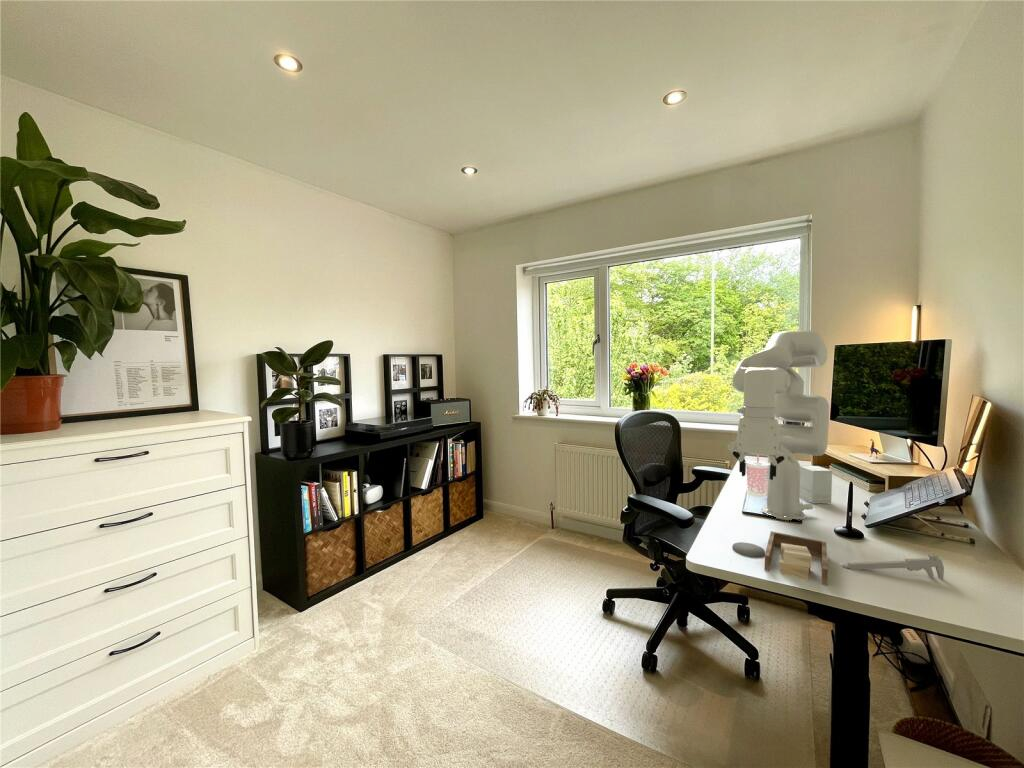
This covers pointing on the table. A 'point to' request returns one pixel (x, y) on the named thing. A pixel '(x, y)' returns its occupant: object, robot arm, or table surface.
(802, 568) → the offcut lower
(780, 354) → the robot arm
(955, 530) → the table surface
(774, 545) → the rack
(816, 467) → the supplement box
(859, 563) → the caliper
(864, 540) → the table surface
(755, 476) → the beverage cup
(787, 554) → the offcut upper
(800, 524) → the table surface
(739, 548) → the coaster
